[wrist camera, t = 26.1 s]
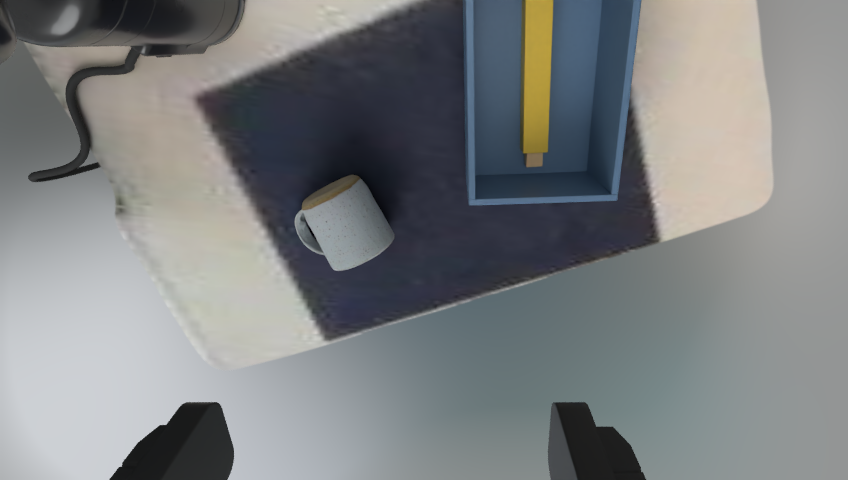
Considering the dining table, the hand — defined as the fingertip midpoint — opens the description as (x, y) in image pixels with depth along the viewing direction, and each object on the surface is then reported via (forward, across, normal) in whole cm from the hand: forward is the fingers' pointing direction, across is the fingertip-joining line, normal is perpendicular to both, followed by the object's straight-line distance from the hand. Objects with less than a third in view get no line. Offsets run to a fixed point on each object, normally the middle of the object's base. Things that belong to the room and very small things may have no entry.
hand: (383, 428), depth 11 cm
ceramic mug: (+40, +11, +9) cm, 43 cm away
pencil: (+39, -10, -6) cm, 41 cm away
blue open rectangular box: (+40, -10, -6) cm, 42 cm away
